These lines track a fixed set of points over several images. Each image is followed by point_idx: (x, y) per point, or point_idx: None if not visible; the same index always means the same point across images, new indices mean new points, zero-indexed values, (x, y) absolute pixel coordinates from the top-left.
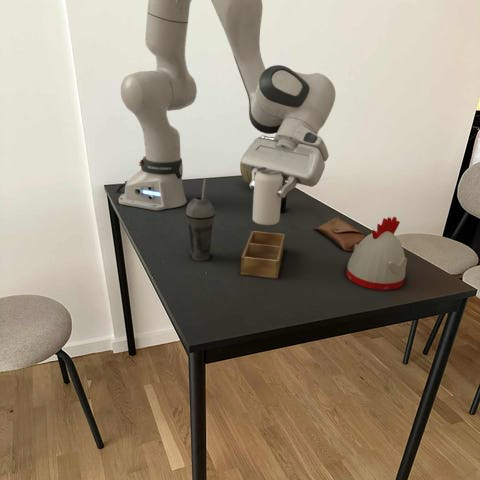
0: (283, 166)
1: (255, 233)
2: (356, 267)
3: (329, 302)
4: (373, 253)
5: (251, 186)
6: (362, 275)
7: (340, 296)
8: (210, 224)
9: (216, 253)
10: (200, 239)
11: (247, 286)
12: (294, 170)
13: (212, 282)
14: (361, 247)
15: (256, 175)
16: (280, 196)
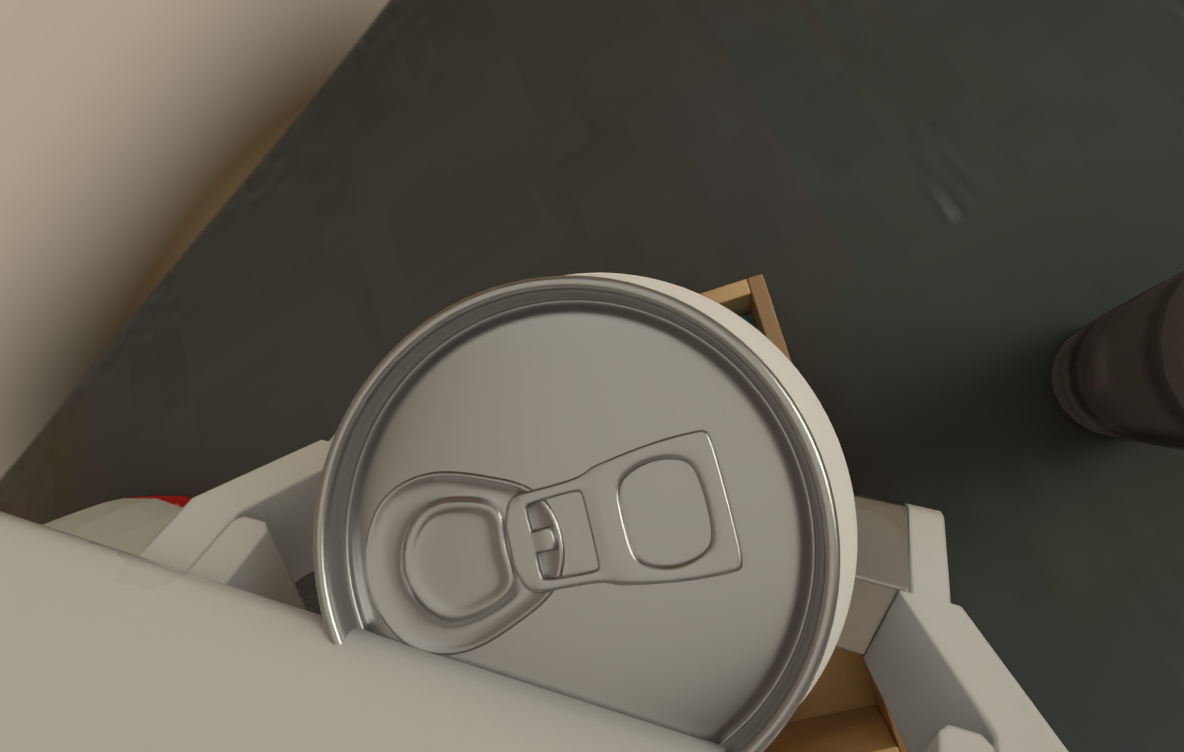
0: (269, 740)
1: (879, 743)
2: None
3: (289, 271)
4: None
5: (893, 500)
6: (162, 510)
7: (260, 349)
8: (1165, 329)
9: (1051, 488)
10: (1159, 284)
11: (667, 199)
12: (48, 620)
13: (853, 134)
14: None
15: (769, 356)
16: None
